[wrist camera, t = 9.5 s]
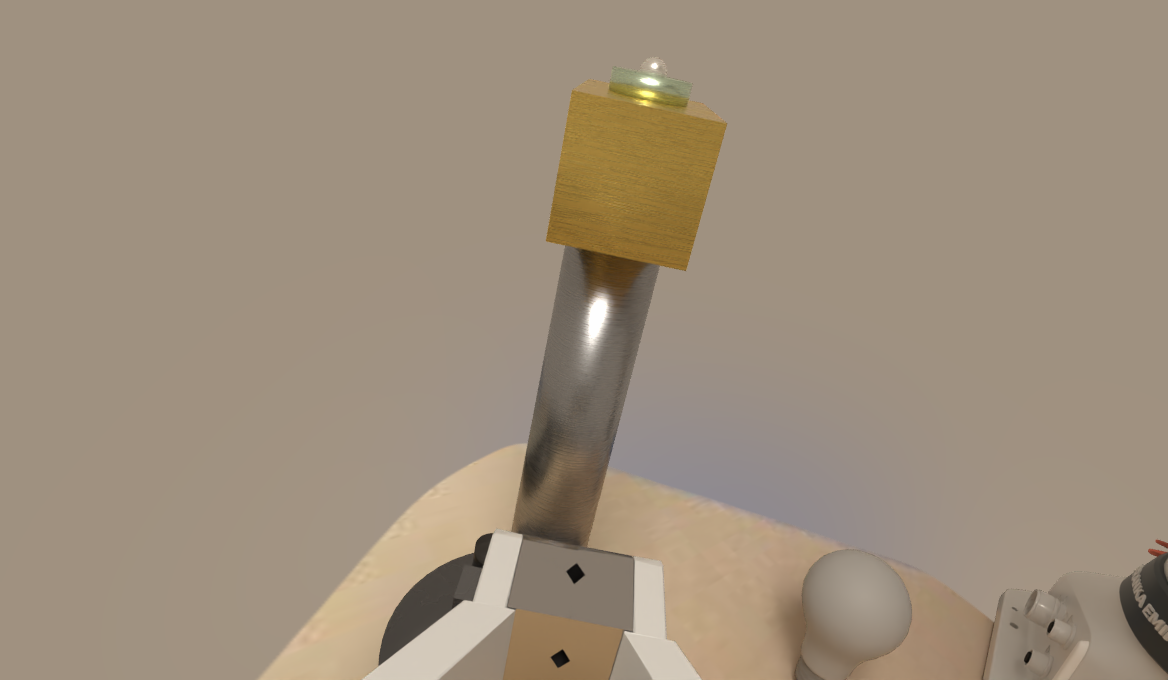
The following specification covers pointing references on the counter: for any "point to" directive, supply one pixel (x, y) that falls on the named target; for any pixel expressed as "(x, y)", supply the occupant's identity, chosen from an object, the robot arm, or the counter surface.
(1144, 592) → the robot arm
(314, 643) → the counter surface
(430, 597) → the tribrach base
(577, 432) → the instrument mast
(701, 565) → the counter surface
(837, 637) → the lightbulb
